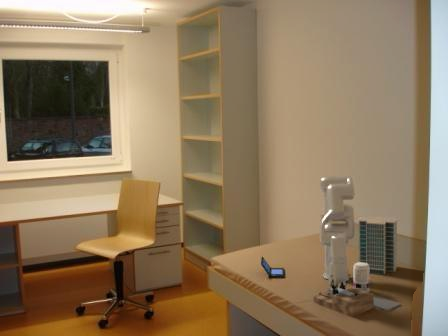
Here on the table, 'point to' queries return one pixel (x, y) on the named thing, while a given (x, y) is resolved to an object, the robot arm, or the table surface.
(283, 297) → the table surface
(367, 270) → the supplement can
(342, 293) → the bar
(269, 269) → the game console
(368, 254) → the building model
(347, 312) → the jig
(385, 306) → the mat
